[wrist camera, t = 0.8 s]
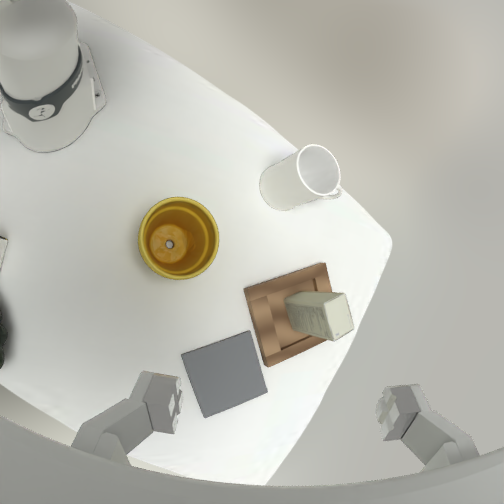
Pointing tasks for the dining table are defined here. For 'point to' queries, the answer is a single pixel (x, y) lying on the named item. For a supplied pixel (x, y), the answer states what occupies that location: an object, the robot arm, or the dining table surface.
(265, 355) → the walnut tray
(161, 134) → the dining table surface
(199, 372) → the mat
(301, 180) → the mug
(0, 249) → the medicine bottle
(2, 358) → the squash
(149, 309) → the dining table surface
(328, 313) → the skincare box
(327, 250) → the dining table surface
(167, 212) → the plant pot
